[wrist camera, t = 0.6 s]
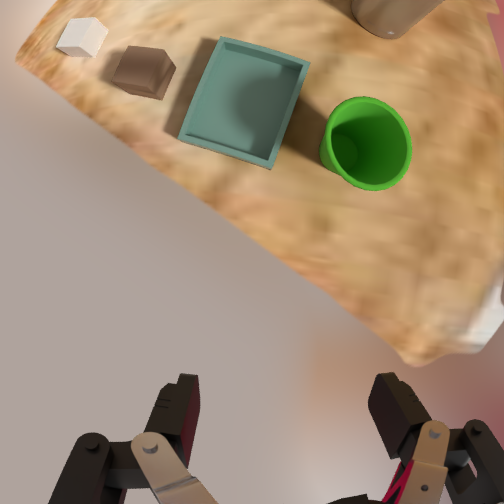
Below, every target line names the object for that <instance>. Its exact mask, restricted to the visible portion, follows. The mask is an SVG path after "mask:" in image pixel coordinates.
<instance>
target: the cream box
mask: <svg viewBox="0 0 504 504" xmlns="http://www.w3.org/2000/svg"><path fill="white" fill-rule="evenodd" d="M108 31H109V30H108V29H107V28H105V27H104V26H103V25H102V24H101V23H100V22H99V21H98V20H97V19H96V18H95V17H93V18H77V19H70V21H69V23H68V25H67V26H66V28H65V30H64V32H63V34H62V36H61V37H60V39H59V41H58V43H57V45H56V48H58V49H60V50H61V51H63V52H65V53H66V54H68V55H70V56H71V57H90V58H95V56H96V54H97V52H98V50H99V48H100V46H101V44H102V42H103V41H104V39H105V37H106V35H107V33H108Z"/></svg>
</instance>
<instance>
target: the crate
mask: <svg viewBox="0 0 504 504" xmlns="http://www.w3.org/2000/svg"><path fill="white" fill-rule="evenodd" d="M309 65H310V62H308V61H305V60H302V59H299V58H297V57H294V56H291V55H288V54H285V53H282V52H279V51H275V50H272V49H269V48H266V47H262V46H259V45H255V44H251V43H247V42H243V41H239V40H235V39H231V38H227V37H222V36H221V37H220V39H219V41H218V43H217V45H216V47H215V49H214V51H213V53H212V55H211V57H210V60H209V62H208V64H207V66H206V68H205V71H204V73H203V75H202V77H201V80H200V82H199V84H198V87H197V89H196V92H195V94H194V96H193V99H192V101H191V104H190V106H189V109H188V111H187V114H186V117H185V119H184V122H183V124H182V127H181V130H180V133H179V135H178V138H177V139H178V140H180V141H182V142H184V143H187V144H191V145H194V146H198V147H201V148H204V149H208V150H211V151H214V152H217V153H221V154H224V155H227V156H230V157H233V158H236V159H239V160H242V161H245V162H248V163H251V164H254V165H257V166H260V167H263V168H266V169H269V170H271V169H272V167H273V164H274V162H275V159H276V156H277V153H278V150H279V148H280V145H281V142H282V139H283V137H284V134H285V131H286V128H287V126H288V123H289V120H290V117H291V115H292V112H293V109H294V106H295V104H296V101H297V98H298V95H299V93H300V90H301V87H302V84H303V82H304V79H305V76H306V74H307V71H308V68H309Z"/></svg>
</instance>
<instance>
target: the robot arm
mask: <svg viewBox="0 0 504 504" xmlns="http://www.w3.org/2000/svg"><path fill="white" fill-rule="evenodd" d="M443 1H444V0H353V1H352V4H351V9H352V13H353V15H354V17H355V18H356V20H357V21H358V22H359V23H360V24H361V25H362V26H363V27H364V28H365V29H366V30H368V31H369V32H371V33H373V34H374V35H377V36H379V37H382V38H386V39H397V38H400V37H401V36H402V35H403V34H405V33H406V32H407V31H408V30H409V29H411V28H412V27H413V26H414V25H415V24H417V23H418V22H419V21H420V20H421V19H422V18H424V17H425V16H426V15H427V14H428V13H430V12H431V11H432V10H433V9H434V8H436V7H437V6H438V5H439V4H441V3H442V2H443ZM199 392H200V391H199V381H198V375H192V374H183V373H181V374H180V376H179V378H178V381H177V384H171V383H168V384H167V385H165V386H164V387H163V388H162V389H161V390H160V393H159V395H158V397H157V400H156V402H155V406H154V407H153V410H152V412H151V415H150V417H149V420H148V423H147V425H146V428H145V430H144V432H143V433H141V434H139V435H137V436H136V437H135V438H134V439H133V440H132V441H128V442H109V441H108V439H107V438H106V437H105V436H103V435H101V434H99V433H86V434H84V435H82V436H80V437H79V438H78V439H77V441H76V443H75V445H74V447H73V450H72V451H71V454H70V456H69V458H68V460H67V462H66V464H65V466H64V468H63V471H62V473H61V475H60V477H59V480H58V482H57V484H56V486H55V489H54V491H53V493H52V496H51V498H50V500H49V503H48V504H124V500H125V496H126V492H127V489H131V488H132V489H134V488H135V489H136V488H150V489H151V491H152V493H153V494H154V496H155V498H156V499H157V501H158V503H159V504H218V503H217V501H215V499H214V498H213V497H212V496H211V494H210V493H209V492H208V491H207V489H206V488H205V487H204V486H203V484H202V483H201V482H200V481H199V480H198V479H197V478H196V477H193V476H191V474H190V473H189V472H188V470H187V469H188V465H189V460H190V456H191V450H192V446H193V441H194V436H195V431H196V426H197V422H198V417H199V413H200V393H199ZM368 408H369V411H370V413H371V416H372V418H373V420H374V422H375V425H376V426H377V429H378V431H379V434H380V436H381V438H382V441H383V443H384V445H385V447H386V450H387V452H388V454H389V457H390V459H395V458H399V457H400V459H401V462H400V463H399V465H398V468H397V470H396V472H395V475H394V477H393V479H392V482H391V484H390V486H389V488H388V491H387V493H386V494H385V496H384V498H383V499H382V501H376V500H368V497H367V494H363V495H358V496H353V497H347V498H341V499H339V500H336V501H333V502H330V503H328V504H439V501H440V497H441V494H442V491H443V487H444V484H445V486H446V488H447V490H448V493H449V496H450V498H451V500H452V503H453V504H504V450H503V449H502V447H501V446H500V444H499V443H498V441H497V439H496V438H495V436H494V435H493V434H492V432H491V431H490V429H489V428H488V426H487V425H486V424H485V423H484V422H483V421H480V420H476V419H474V420H470V421H468V422H467V423H466V425H465V426H464V428H463V429H449V428H448V427H447V426H446V425H445V424H444V423H442V422H440V421H436V420H432V419H431V417H430V416H429V414H428V412H427V411H426V409H425V408H424V406H423V405H422V403H421V402H420V401H419V399H418V397H417V396H416V395H415V393H414V391H413V390H412V388H411V387H410V386H409V385H408V384H406V383H405V382H403V381H399V379H398V378H397V376H396V375H395V373H393V372H389V373H381V374H378V375H377V376H376V378H375V381H374V384H373V387H372V390H371V393H370V396H369V399H368ZM470 459H471V461H472V462H473V464H474V466H475V468H476V470H477V478H476V477H475V475H474V474H473V471H472V470H471V468H470V466H469V464H468V462H469V460H470ZM186 468H187V469H186Z"/></svg>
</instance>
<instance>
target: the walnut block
mask: <svg viewBox="0 0 504 504" xmlns="http://www.w3.org/2000/svg"><path fill="white" fill-rule="evenodd" d="M175 70H176V66H175V65H174V64H173V62H172V61H171V59H170V58H169V56H168V55H167V53H166V52H165V50H163V49H155V48H147V47H137V46H128V47H127V49H126V51H125V53H124V55H123V57H122V59H121V61H120V64H119V66H118V68H117V70H116V72H115V74H114V77H113V79H112V82H113V83H115V84H116V85H118V86H119V87H121V88H122V89H124V90H125V91H126V92H128V93H129V94H132V95H138V96H143V97H148V98H153V99H158V100H163V97H164V95H165V93H166V90H167V88H168V85H169V83H170V81H171V79H172V76H173V74H174V72H175Z"/></svg>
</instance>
